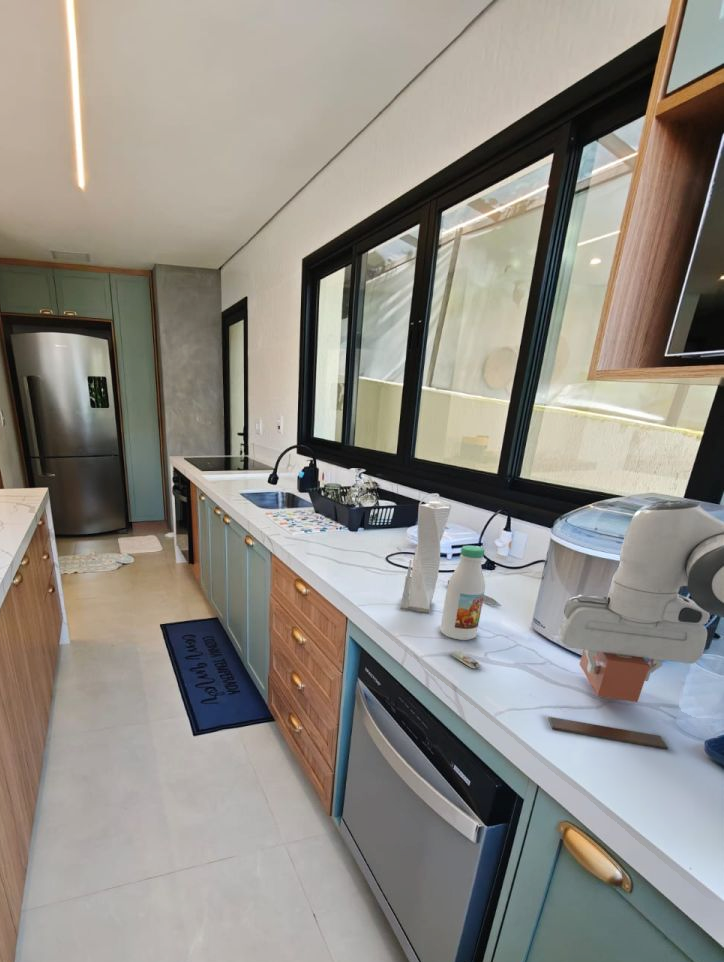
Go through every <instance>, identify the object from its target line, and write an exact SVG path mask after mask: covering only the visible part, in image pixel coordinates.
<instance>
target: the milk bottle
mask: <svg viewBox="0 0 724 962" xmlns="http://www.w3.org/2000/svg"><path fill="white" fill-rule="evenodd" d="M484 556H485V549H484V548H483V547H481V546H478V545H462V547H461V548H460V555H459V557H460V561H459V563H458V565H457V566H456V568H455V569H454V571H453V572H452V573H451V576H450V578H449V579H448V580H449V583H448V582H447V588H446V592H445V599H444V604H443V610H442V616H441V622H440V632H441V634H443V635H444V636H446V637H449V638H451V639H455V640H461V641H468V640H472V639H474V638H475V637H476V636H477V633H478V629H479V623H480V619H481V613H482V608H483V603H484V601H483V597H484V595H485V590H486V580H485V576H484V573H483V568H482V561H483V560H484Z"/></svg>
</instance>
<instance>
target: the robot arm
mask: <svg viewBox="0 0 724 962" xmlns="http://www.w3.org/2000/svg"><path fill="white" fill-rule="evenodd" d="M681 587H687V591H688V594H689V596H690V597H691V598H689V597H687V596H684V595H681V594H679V592H680V590H681V589H680V588H681ZM608 590H609V591H608V593H607V597H606V596H593V595H592V596H590V595H586V594H578V595H577V596H574V597H571V598H569V599H568V600H567V601H566V603H565V606H564V609H563V614H564V617H563V620H562V621H561V624H560V627H559V630H558V633H557V637H558V639H559V641H560V643H561V644H562V645H563V647H565V648H567V649H576V650H582V651H583V650H584V651H585V653H586V656H587V658H588V660H589V662H588V666H587V671H588V672H589V673H592V674H599V670H600V668H601V666H600V664H599V662H598V661H594V659H593V656H597V653H598V652H606V653H613V654H621V655H628V656H636V657H643V658H644V659H648V660H649V661H648V662H647V663H648V664H649V669H648V672H647V675H646V678H645V681H644V682H648V681H649V680H650V677H651V674H652V673H654V672H655V671H657V670H658V669H659V668H661V667H662V666H663V663H664V661H666V662H676V663H683V664H691V665H692V664H693V665H694V664H695V663H697V662H698V661H700V660H701V658H703V657H702V656H703V654H704V651H705V648H706V644H707V639H708V630H707V627H706V626H705V625H706V624H707V623H708V622H709V621H710V617H711V615H713V616H716V617H719V618H724V521H722V519H721V520H720V519H719V518H717V517H715V515H712V514H710V513H709V512H708V511H706V510H705V509H704V508H703V507H702V506H701V505H700V504H699V503H697V502H694V501H688V500H664V501H656V502H650V503H648V504H646V505H644V506H642V507H640V508H639V509H637V511H636V512H635V513H634V515H633V516H632V518H631V520H630V521H629V523H628V527H627V529H626V533H625V535H624V537H623V541H622V544H621V548H620V550H619V565H618V568H617V569H616V571H615V573H614V574H613V576H612V579H611V583H610V587H609V589H608Z"/></svg>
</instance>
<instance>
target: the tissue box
mask: <svg viewBox="0 0 724 962" xmlns="http://www.w3.org/2000/svg"><path fill="white" fill-rule="evenodd" d="M581 653H582V654H581V657H580V661H579V666H580V667H581V669H582V671H583V673H584V675H585V676H586V679H587V680H588V682H589V684H590V685H591V687H592V689H593V691H594V692H595V694H596V696H597V697H599V698H606V699H613V700H620V701H625V702H632V703H638V702H639V699H640V696H641V693H642V690H643V687H644V684H645V682H646V681H645V678H646V675H647V672H648V669H649V664H648V662H647V661H646V659H645V658H644V657H636V656H628V655H621V654H613V653H606V652H598V653H597V656H593V659H594V661H598V662H599V664H600V666H601V668H600V670H599V674H592V673H589V672H588V671H587V666H588V662H589V660H588V658H587V656H586V653H585V651H584V650H583V649H582V652H581Z"/></svg>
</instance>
